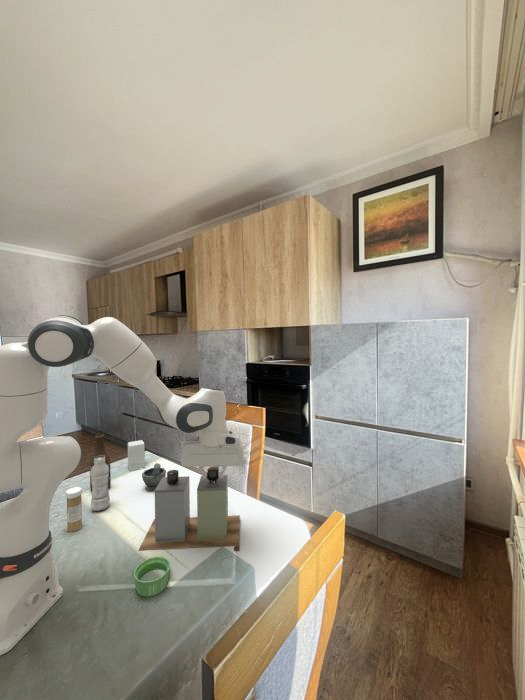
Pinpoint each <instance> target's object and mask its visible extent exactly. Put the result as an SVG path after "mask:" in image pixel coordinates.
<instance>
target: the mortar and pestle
mask: <svg viewBox="0 0 525 700" xmlns="http://www.w3.org/2000/svg"><path fill="white" fill-rule="evenodd" d="M141 477H142V481H143V482H144V484H145V486H146V490H147V489H148V490H147V491H149V490H150V492H155V489H156V487H157V486H158V484H159V482H160V481H161V479H162V477H167V470H166V469H165V468H164V467H162V466H161V464H160V463H157V462H156V463H155V464H153V467H150V468H148V469H146V470H143V472H142V474H141Z"/></svg>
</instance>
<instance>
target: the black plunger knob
mask: <svg viewBox="0 0 525 700" xmlns="http://www.w3.org/2000/svg"><path fill="white" fill-rule="evenodd" d="M206 472H207V479H208V480H209V481H212V483H215V480H217V479H218V477H219V476H218V474H219V472H220V471H219V467H218V466H209V467H208V468H207V471H206Z"/></svg>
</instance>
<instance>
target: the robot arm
mask: <svg viewBox="0 0 525 700" xmlns="http://www.w3.org/2000/svg"><path fill="white" fill-rule="evenodd" d="M91 356H93V357H94V358H96V359H98V360H99V361H100V362H102V364H104V366H106V367H107V368H108V370H110V371H111V372H112V373H113V374H114V375H116V376H117V377H118V378H120V379H121V380H122V381H124V382H125V383H127V384H129V385H131V386H133V387H135V388H137V389H138V390H139V391H140V392H142V394H143V395H144V396H145V397H147V399H149V401H150V402H152V404H153V405H154V406H155V408H156V410H157V412H158V416H159V417H160V420H161V421H162V422H163V423H164V424H166V425H167V426H170V427H173V428H174V429H177V430H178V431H180V432H182V433H187V434H192V433H196V432H198V436H185V437H184V438H182V439H181V441H180V450H181V456H180V465H181V466H182V467H184V468H191V467H192V468H196V467H197V468H198V471H199V472H200V474H201V476H202V479H203V480H205V479H207V471H205V469H204V468H205V467H221V469H222V470H221V471H219V474H218V476H219V477H218V479H223V475H225V472H226V470H227V467H234V466H235V467H236V466H237V467H238V466H239V467H240V466H242V465H244V462H245V459H244V458H245V456H244V448H243V444H242V441H241V435H240V432H238V431H235V430H231V429H228V428H227V423H226V416H227V398H226V395H225V392H224V390H223V389H221V388H220V387H219V388H218V387H213V386H203V387H201V388H200V389H199V391H197V392H196V393H195V394H193V395H191V396H190V397H188V398H185V397H184V396H181V395H178V394H175V393H173V392H172V391H171V390H170V389H169V388H168V387H167V386H166V385H165V384H164V383H163V381H162V380H161V379H160V378H159V377H158V376H157V374H156V368H157V359H156V357H155V355H154V353H153V352H152V350H151V349H150V348H149V347H148V345H146V343H145V342H144V341H143V340H142V338H140V337H139V336H138V335H137V334H136V333H135V332H134V331H133V330H131V329H130V328H129V327H128V326H127V325H125V324H124V323H123V322H121V321H120V320H118V319H117V318H115V317H112V316H105V317H102V318H101V317H100V318H98V319H96V320H95V321H93V322H92V323H89V324H84V323H83V322H81V320H79V319H77V318H75V317H73V316H71V315H65V314H60V315H55V316H50V317H48V318H46V319H44V320H41V321H40V322H39V323H38V324H37V325H36V326H34V327H33V329H32V330H31V331H30V332H29V335H28V337H27V341H25V342H24V341H23V342H10V343H6V344H2V345H0V494H2V493H7V492H9V491H14V490H18V489H23V490H22V491H21V492H20V493H19V494H18V495H17V496H16V497H14V498H13V499H11V500H10V501H9V502H7V503H6V504H4V505H3V506H2V507H1V508H0V656H2V655H4V654H6V653H9V651H11V650H12V649H13V648H14V647H15V646H16V645H17V644H18V643H19V642H20V641H21V639H23V637H24V636H25V635H26V634H27V633H28V632H29V631H30V630H31V629H32V628H33V627H34V625H36V623H38V622H39V621H40V620H41V619H42V618H43V616H44V615H45V614H46V613H47V612H48V611H49V610H50V609H51V608H52V607H53V606H54V605H55V603H57V602H58V601H59V599H60V598H61V597H62V596H63V595H64V588H63V587H62V586H61V585H60V581H59V575H58V569H57V562H56V559H55V558H54V555H53V553H52V552H51V551H52V550H51V549H52V547H53V546H52V545H53V543H52V542H53V536H52V531H51V530H50V511H51V504H52V501H53V498H54V495H55V493H56V492H57V491H58V488H59V487H60V486H61V484H62V482H63V481H64V480H65V479H66V478H67V477H68V476H69V475H70V474H72V473H73V472H74V471H75V470H76V468H77V467H78V466H79V463H80V462H81V457H82V449H81V446H80V444H79V443H78V441H77V440H76V439H75V438H73V437H72V436H71V435H69V436H67V435H66V436H63V435H59V436H58V435H57V436H54V435H53V436H45V437H41V438H35V439H29V440H24V441H18V440H20V438H21V437H23V436H24V435H25V434H27V433H28V432H31V431H32V430H34V429H36V428H37V427H39V426H40V425H41V424H42V423H43V422H44V421H45V419H46V417H47V415H48V374H49V369H50V368H59V367H60V368H61V367H66V366H69V365H72V364H74V363H76V362H79V361H81V360H83V359H86V358H89V357H91Z"/></svg>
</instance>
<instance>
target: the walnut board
mask: <svg viewBox="0 0 525 700" xmlns="http://www.w3.org/2000/svg"><path fill="white" fill-rule="evenodd" d="M240 519H241V516H240V515H228V527H227V539H213V540H198V528H197V516H193V517H191V516H190V525H189V528H188V531H187V535H186V538H185V541H170V542H155V518H154V519H153V521H152V523H151V525H150V527H149V529H148V531H147V532H146V534H145V537H144V539H143V540H142V542H141V544H140V547H139V548H138V552H143V551H144V552H145V551H161V550H184V549H203V548H221V547H222V548H224V547H226V548H227V547H233V552H236V551H238V552H239V551H240V529H241V528H240V526H241V525H240V523H241V522H240V521H241V520H240Z"/></svg>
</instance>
